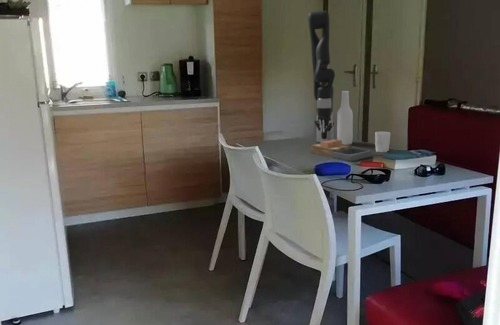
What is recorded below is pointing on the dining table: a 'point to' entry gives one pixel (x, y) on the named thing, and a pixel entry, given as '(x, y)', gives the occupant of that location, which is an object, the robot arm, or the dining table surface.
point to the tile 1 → (327, 144)
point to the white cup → (382, 141)
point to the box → (351, 154)
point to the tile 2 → (336, 142)
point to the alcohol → (345, 120)
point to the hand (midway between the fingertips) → (324, 138)
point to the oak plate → (327, 149)
